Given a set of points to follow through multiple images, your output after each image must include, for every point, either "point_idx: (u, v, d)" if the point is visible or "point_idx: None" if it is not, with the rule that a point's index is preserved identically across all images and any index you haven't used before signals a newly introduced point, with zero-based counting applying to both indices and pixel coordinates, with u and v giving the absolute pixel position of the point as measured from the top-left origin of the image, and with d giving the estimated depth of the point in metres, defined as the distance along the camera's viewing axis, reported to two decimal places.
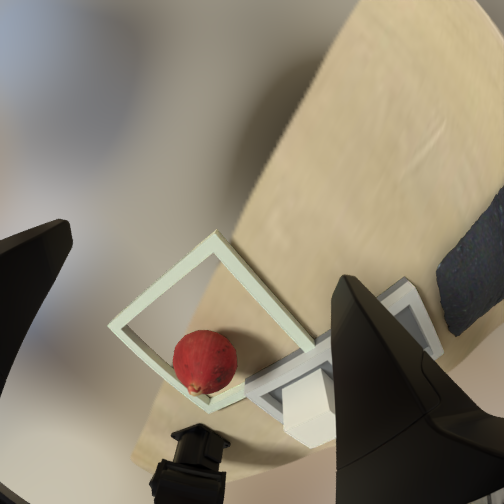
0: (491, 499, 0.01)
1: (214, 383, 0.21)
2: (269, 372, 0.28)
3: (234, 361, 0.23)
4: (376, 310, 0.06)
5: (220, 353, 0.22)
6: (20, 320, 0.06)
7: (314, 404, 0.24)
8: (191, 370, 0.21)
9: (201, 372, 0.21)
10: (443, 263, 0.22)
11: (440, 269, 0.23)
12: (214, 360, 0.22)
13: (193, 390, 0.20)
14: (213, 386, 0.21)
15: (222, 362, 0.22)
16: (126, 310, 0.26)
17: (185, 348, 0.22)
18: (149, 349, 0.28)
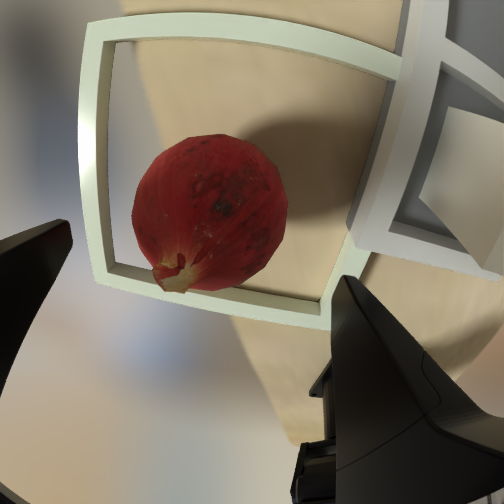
0: (491, 499, 0.01)
1: (217, 223, 0.08)
2: (372, 171, 0.12)
3: (251, 154, 0.09)
4: (376, 310, 0.06)
5: (196, 150, 0.08)
6: (20, 320, 0.06)
7: (496, 158, 0.07)
8: (147, 229, 0.08)
9: (165, 216, 0.08)
10: None
11: None
12: (185, 168, 0.08)
13: (165, 273, 0.07)
14: (220, 234, 0.08)
15: (207, 163, 0.08)
16: (88, 236, 0.15)
17: (134, 200, 0.09)
18: None
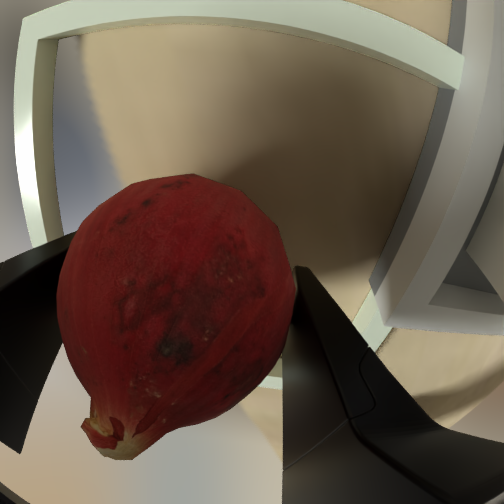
0: None
1: (166, 378, 0.04)
2: (413, 220, 0.08)
3: (233, 223, 0.05)
4: (321, 302, 0.06)
5: (131, 221, 0.05)
6: (53, 335, 0.06)
7: None
8: (69, 356, 0.04)
9: (84, 352, 0.04)
10: None
11: None
12: (108, 262, 0.04)
13: (97, 442, 0.03)
14: (174, 392, 0.04)
15: (147, 252, 0.04)
16: None
17: None
18: None
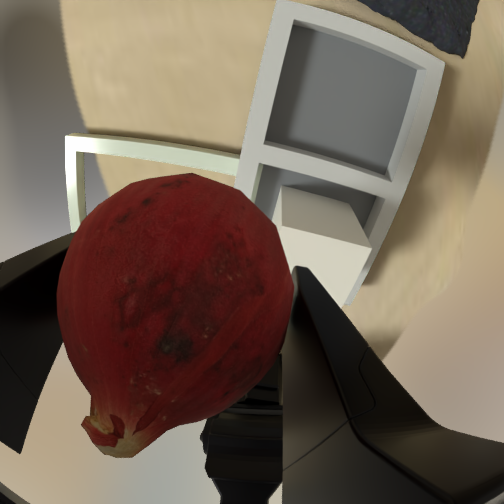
0: None
1: (166, 374, 0.04)
2: None
3: (232, 222, 0.05)
4: (321, 302, 0.06)
5: (131, 219, 0.05)
6: (53, 335, 0.06)
7: None
8: (70, 354, 0.04)
9: (84, 350, 0.04)
10: None
11: None
12: (109, 261, 0.04)
13: (97, 439, 0.03)
14: (175, 390, 0.04)
15: (147, 251, 0.04)
16: None
17: None
18: None
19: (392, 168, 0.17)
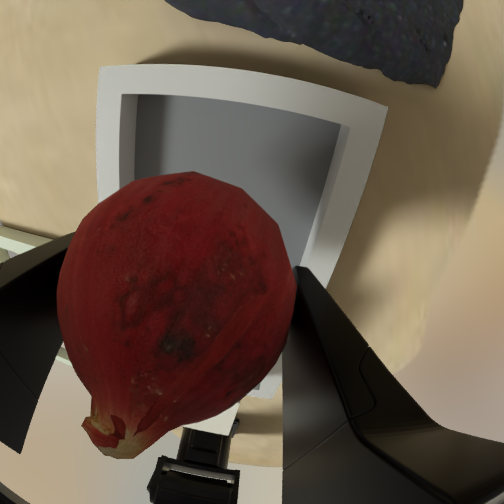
0: None
1: (168, 374, 0.04)
2: None
3: (234, 220, 0.05)
4: (321, 302, 0.06)
5: (132, 217, 0.04)
6: (53, 335, 0.06)
7: None
8: (70, 354, 0.04)
9: (85, 350, 0.04)
10: None
11: (167, 0, 0.07)
12: (110, 259, 0.04)
13: (98, 440, 0.03)
14: (177, 390, 0.04)
15: (149, 249, 0.04)
16: None
17: None
18: None
19: None
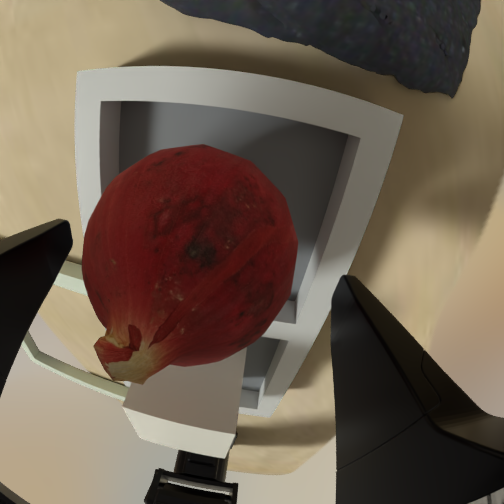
0: (491, 499, 0.01)
1: (190, 279, 0.05)
2: None
3: (248, 171, 0.06)
4: (376, 310, 0.06)
5: (166, 163, 0.06)
6: (20, 320, 0.06)
7: None
8: (92, 280, 0.05)
9: (112, 264, 0.05)
10: None
11: None
12: (146, 189, 0.05)
13: (110, 355, 0.04)
14: (197, 296, 0.05)
15: (181, 181, 0.05)
16: None
17: None
18: (64, 365, 0.23)
19: (300, 301, 0.12)
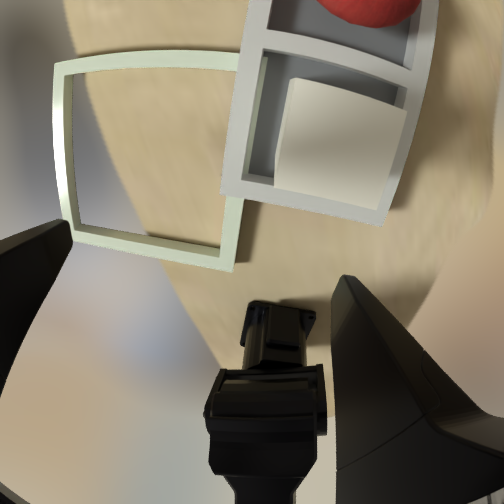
0: (491, 499, 0.01)
1: None
2: None
3: None
4: (376, 310, 0.06)
5: None
6: (20, 320, 0.06)
7: (288, 106, 0.12)
8: None
9: None
10: None
11: None
12: None
13: None
14: None
15: None
16: (61, 203, 0.20)
17: None
18: (113, 231, 0.23)
19: (409, 59, 0.12)
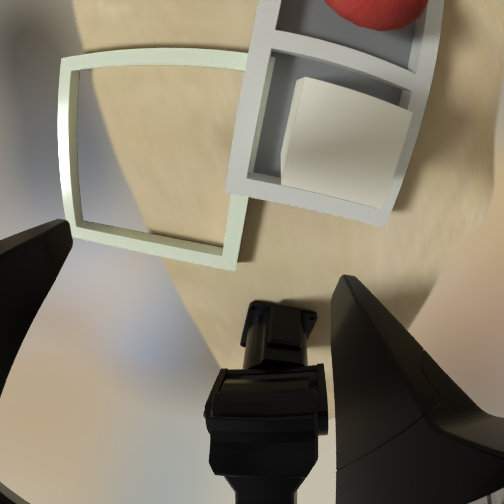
0: (491, 499, 0.01)
1: None
2: None
3: None
4: (376, 310, 0.06)
5: None
6: (21, 320, 0.06)
7: (296, 105, 0.12)
8: None
9: None
10: None
11: None
12: None
13: None
14: None
15: None
16: (64, 199, 0.20)
17: None
18: (115, 228, 0.23)
19: (413, 62, 0.12)
